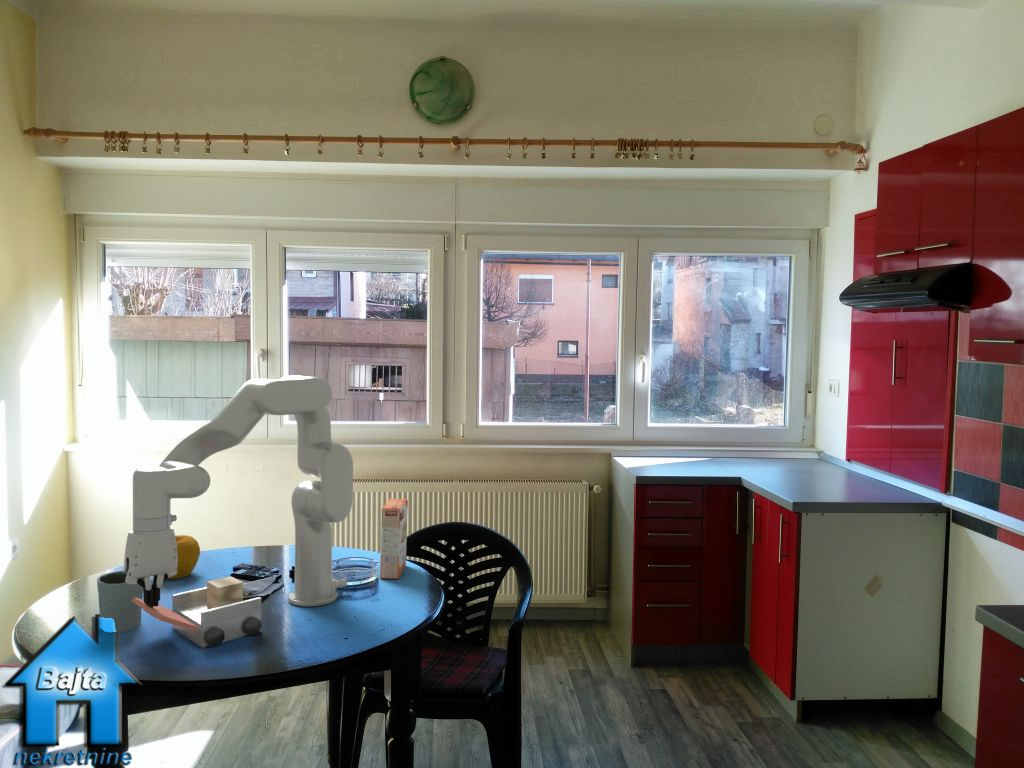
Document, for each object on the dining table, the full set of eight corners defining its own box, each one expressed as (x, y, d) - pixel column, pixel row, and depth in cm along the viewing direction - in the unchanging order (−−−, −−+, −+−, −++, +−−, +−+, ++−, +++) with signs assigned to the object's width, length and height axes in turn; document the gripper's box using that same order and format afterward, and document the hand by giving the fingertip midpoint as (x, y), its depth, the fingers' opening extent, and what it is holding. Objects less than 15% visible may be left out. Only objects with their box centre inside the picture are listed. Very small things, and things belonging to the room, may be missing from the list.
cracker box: (400, 580, 219) (401, 508, 218) (379, 579, 219) (380, 507, 218) (407, 565, 233) (408, 498, 232) (387, 565, 233) (388, 497, 232)
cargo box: (231, 600, 184) (231, 576, 184) (242, 607, 180) (242, 582, 180) (206, 606, 180) (206, 581, 180) (218, 613, 176) (218, 587, 176)
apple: (142, 576, 216) (142, 537, 215) (184, 566, 227) (184, 528, 226) (167, 586, 209) (167, 545, 208) (209, 574, 219) (209, 535, 219)
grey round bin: (112, 617, 185) (112, 569, 184) (153, 619, 185) (153, 570, 184) (88, 633, 175) (87, 582, 174) (131, 635, 174) (130, 584, 174)
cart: (226, 612, 190) (227, 580, 190) (263, 632, 178) (263, 599, 177) (170, 626, 180) (170, 593, 180) (205, 649, 168) (205, 614, 167)
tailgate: (168, 608, 178) (133, 596, 173) (198, 627, 168) (162, 615, 162) (165, 614, 178) (130, 602, 172) (195, 633, 167) (159, 622, 161)
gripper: (178, 515, 175) (178, 593, 176) (109, 525, 164) (109, 609, 165) (193, 521, 170) (192, 602, 171) (122, 532, 159) (122, 618, 160)
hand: (151, 605), depth 168 cm, fingers closed
